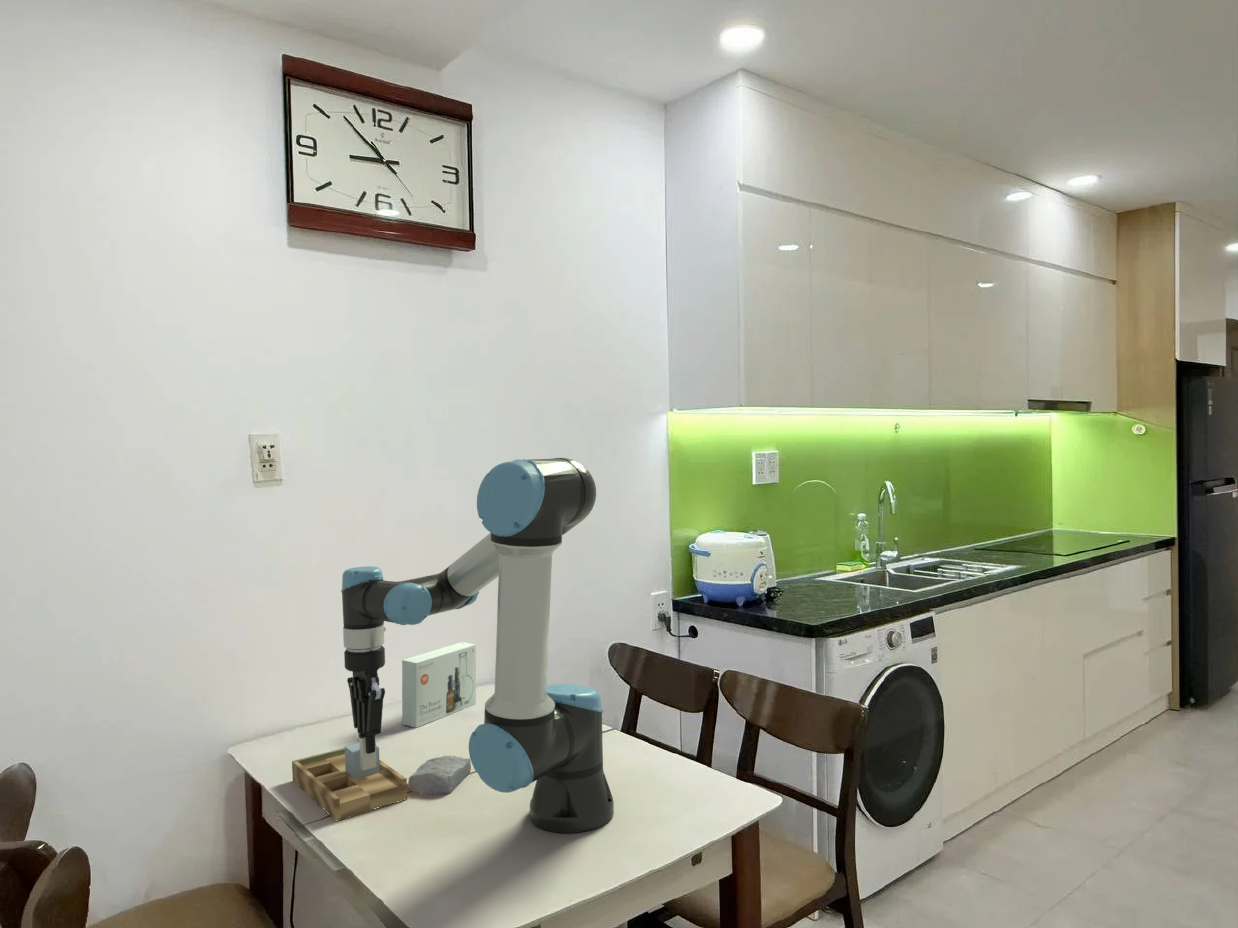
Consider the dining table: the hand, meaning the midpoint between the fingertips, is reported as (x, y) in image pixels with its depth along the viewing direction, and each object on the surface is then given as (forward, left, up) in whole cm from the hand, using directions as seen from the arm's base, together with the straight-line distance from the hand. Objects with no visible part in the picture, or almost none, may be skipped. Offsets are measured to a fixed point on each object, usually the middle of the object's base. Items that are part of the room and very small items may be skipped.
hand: (368, 767), depth 164 cm
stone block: (-4, -13, -5) cm, 14 cm away
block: (+3, 0, -2) cm, 4 cm away
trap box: (+4, +3, -5) cm, 7 cm away
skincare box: (+33, -32, -5) cm, 46 cm away
